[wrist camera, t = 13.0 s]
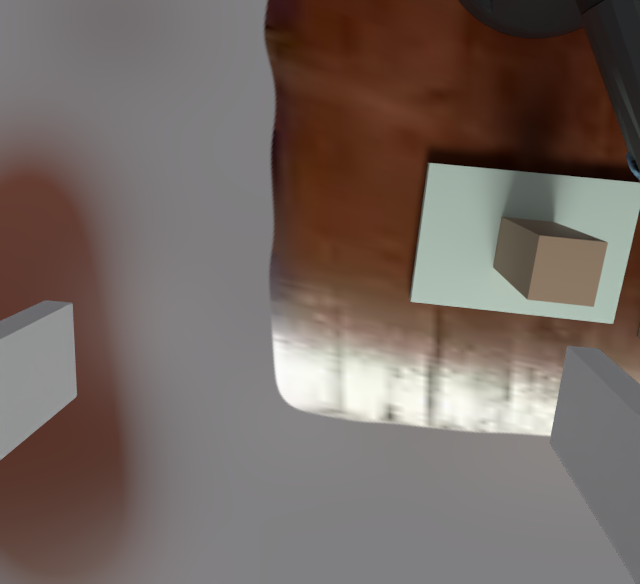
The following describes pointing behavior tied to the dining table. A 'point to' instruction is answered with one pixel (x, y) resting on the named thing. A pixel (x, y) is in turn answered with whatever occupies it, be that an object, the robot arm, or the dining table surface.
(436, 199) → the cover plate
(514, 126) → the dining table surface
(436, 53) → the dining table surface
